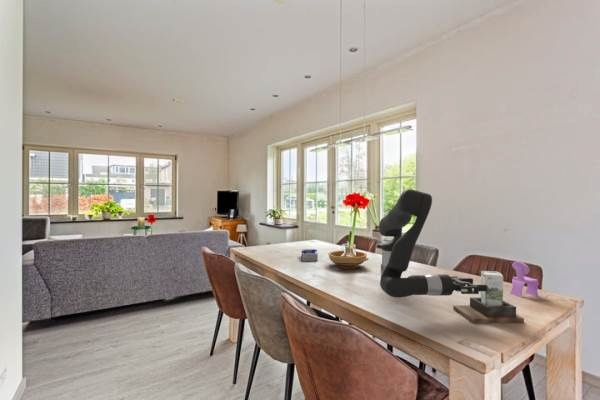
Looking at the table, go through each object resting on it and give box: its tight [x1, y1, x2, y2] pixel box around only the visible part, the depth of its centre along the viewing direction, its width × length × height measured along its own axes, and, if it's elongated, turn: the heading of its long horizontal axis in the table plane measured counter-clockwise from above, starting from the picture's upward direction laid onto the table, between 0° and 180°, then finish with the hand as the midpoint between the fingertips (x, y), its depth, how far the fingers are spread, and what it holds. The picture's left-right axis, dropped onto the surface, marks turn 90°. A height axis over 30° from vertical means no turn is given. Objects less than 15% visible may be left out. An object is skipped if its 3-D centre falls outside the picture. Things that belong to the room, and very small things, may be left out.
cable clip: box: [301, 248, 318, 254], centre depth 216 cm, size 12×4×6 cm, turn 132°
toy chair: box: [509, 260, 539, 298], centre depth 136 cm, size 8×9×15 cm
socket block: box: [452, 296, 525, 324], centre depth 112 cm, size 18×13×5 cm
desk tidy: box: [301, 248, 319, 262], centre depth 216 cm, size 10×18×5 cm, turn 1°
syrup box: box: [480, 270, 504, 306], centre depth 112 cm, size 6×6×14 cm
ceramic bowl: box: [327, 250, 369, 269], centre depth 192 cm, size 30×24×8 cm
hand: (479, 284), depth 112 cm, fingers open, 8 cm apart
